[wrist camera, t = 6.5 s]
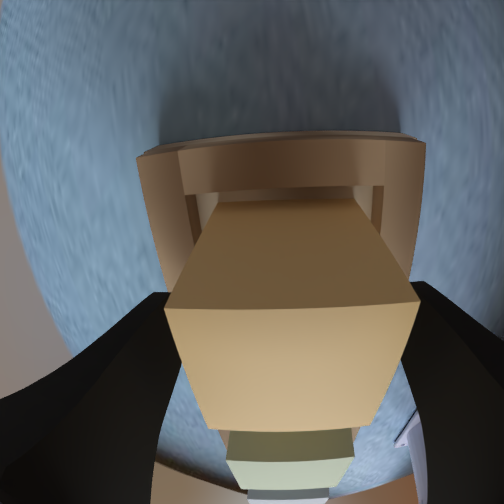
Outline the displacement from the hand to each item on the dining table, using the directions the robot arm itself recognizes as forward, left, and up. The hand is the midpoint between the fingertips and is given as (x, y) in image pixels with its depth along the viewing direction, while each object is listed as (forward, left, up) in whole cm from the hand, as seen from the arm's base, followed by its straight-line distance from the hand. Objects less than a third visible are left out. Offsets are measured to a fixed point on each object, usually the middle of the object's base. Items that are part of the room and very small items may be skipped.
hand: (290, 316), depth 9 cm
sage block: (0, +8, -3) cm, 9 cm away
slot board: (0, +8, -5) cm, 9 cm away
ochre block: (0, 0, -3) cm, 3 cm away
